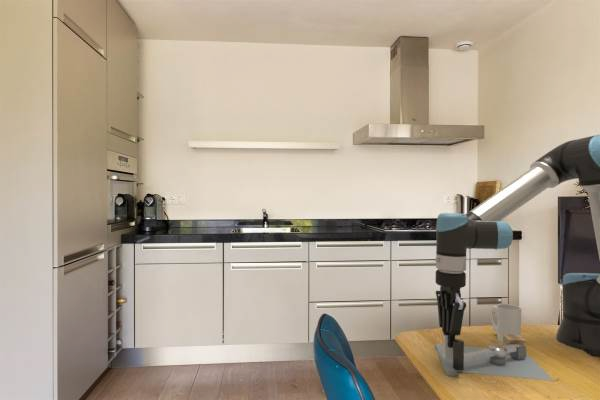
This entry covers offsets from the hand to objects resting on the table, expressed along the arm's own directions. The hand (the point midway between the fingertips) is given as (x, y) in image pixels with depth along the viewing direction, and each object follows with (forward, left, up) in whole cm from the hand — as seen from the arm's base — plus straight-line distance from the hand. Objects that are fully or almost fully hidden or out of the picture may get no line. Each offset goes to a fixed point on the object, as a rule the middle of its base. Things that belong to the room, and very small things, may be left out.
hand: (448, 357), depth 99 cm
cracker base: (-11, -5, -3) cm, 13 cm away
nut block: (-20, -12, -2) cm, 24 cm away
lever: (-11, -2, -1) cm, 11 cm away
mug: (-21, -24, -3) cm, 32 cm away
